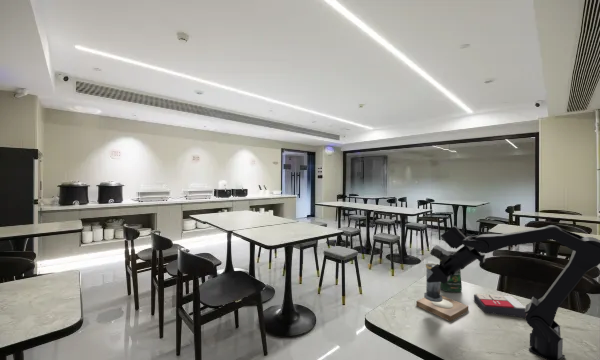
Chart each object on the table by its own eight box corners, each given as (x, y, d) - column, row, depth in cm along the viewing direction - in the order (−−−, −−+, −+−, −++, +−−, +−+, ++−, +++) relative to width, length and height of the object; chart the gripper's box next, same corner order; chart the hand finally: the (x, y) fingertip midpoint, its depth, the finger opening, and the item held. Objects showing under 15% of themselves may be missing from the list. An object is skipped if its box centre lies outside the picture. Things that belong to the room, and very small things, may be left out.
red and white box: (473, 292, 113) (513, 294, 109) (473, 302, 113) (513, 304, 109) (484, 304, 103) (528, 307, 99) (484, 315, 103) (529, 318, 99)
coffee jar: (443, 292, 120) (443, 253, 120) (436, 285, 128) (436, 248, 128) (465, 293, 119) (465, 254, 119) (456, 286, 127) (456, 249, 127)
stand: (468, 310, 104) (468, 305, 104) (450, 321, 96) (450, 315, 96) (434, 297, 116) (434, 292, 116) (416, 305, 108) (416, 300, 108)
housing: (446, 301, 99) (446, 268, 99) (432, 302, 98) (432, 269, 98) (434, 293, 106) (434, 262, 105) (420, 295, 104) (421, 263, 104)
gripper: (451, 236, 105) (423, 257, 113) (436, 245, 92) (406, 267, 100) (473, 259, 100) (442, 279, 108) (462, 272, 87) (427, 294, 95)
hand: (429, 279), depth 103 cm, fingers closed on housing, 5 cm apart
